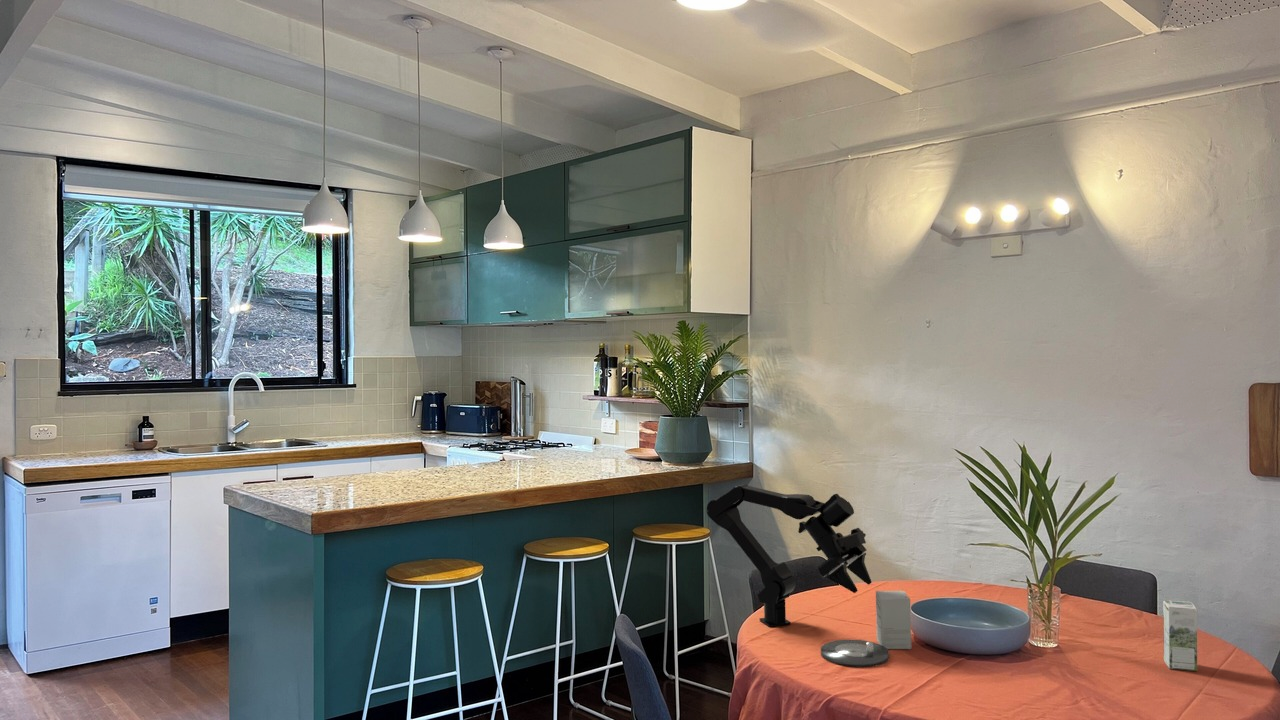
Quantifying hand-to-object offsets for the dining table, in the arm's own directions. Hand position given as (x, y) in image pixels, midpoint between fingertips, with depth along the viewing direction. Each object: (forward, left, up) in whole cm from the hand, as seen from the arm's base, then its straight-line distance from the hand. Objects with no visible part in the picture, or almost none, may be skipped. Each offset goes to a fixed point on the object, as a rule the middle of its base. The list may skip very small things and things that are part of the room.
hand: (863, 587), depth 229 cm
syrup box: (+43, +55, -13) cm, 72 cm away
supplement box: (+6, +4, -13) cm, 15 cm away
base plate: (+9, -9, -13) cm, 18 cm away
